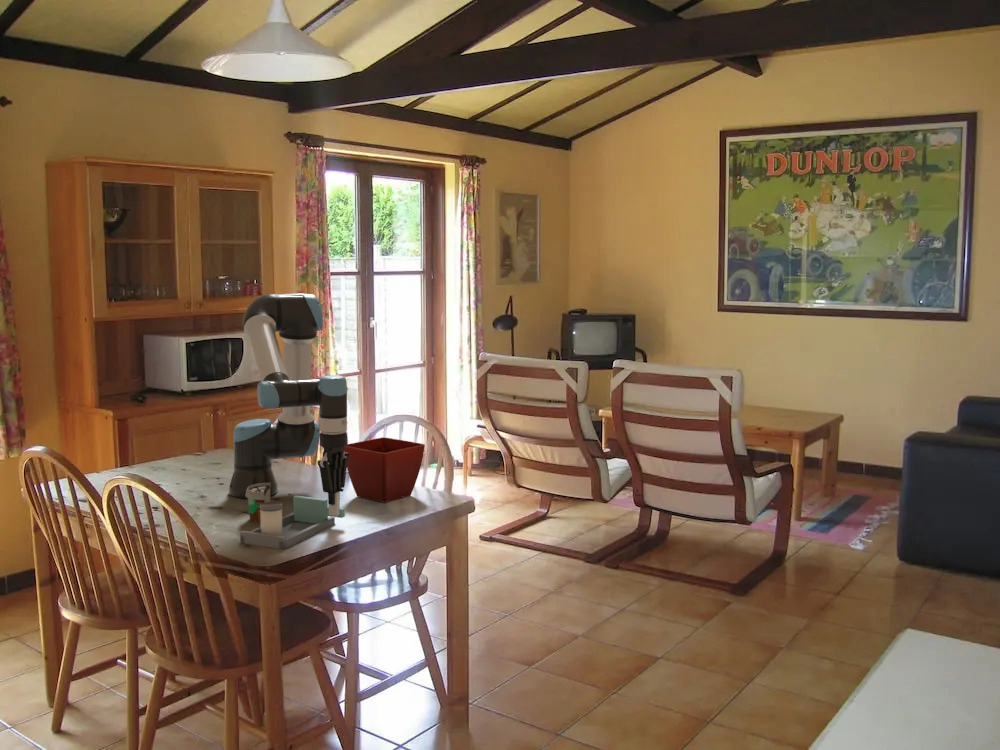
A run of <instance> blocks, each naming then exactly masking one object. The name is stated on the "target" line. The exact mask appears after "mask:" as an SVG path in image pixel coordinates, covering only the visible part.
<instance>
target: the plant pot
mask: <svg viewBox="0 0 1000 750" xmlns="http://www.w3.org/2000/svg"><path fill="white" fill-rule="evenodd" d="M425 449H426V444H424V443H419V442H415V441H409V440H403V439H397V438H391V437H383V436H382V437H379V438H373V439H372V438H371V439H366V440H363V441H358V442H357V441H356V442H353V443H347V445H346V446H345V447H344V452H346V453H349V458H348V461H347V469H346V471H347V473H348V476H349V479H350V482H351V484H352V487H353V491H354V492H355V494H356V497H358V498H362V499H363V498H364V499H368V500H371V501H376V502H380V503H388V502H392V501H395V500H399V499H402V498H406V497H410V496H411V495H412V493H413V491H414V488H415V486H416V483H417V479H418V478H419V477H418V476H419V473H420V470H421V467H422V463H423V459H424V454H425Z"/></svg>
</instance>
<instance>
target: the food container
mask: <svg viewBox="0 0 1000 750" xmlns="http://www.w3.org/2000/svg"><path fill="white" fill-rule="evenodd" d="M270 489H271V485H270V483H259V484H254V485H251V486H249V487H248V488H247V490H246V495H245V496H246V497H247V498H246V499H247V504H248V512H249V513H248V514H249V520H250V522H252V523H254V524H255V523H256V524H261V517H260V504H262V503H265V502H271V496H270Z"/></svg>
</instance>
